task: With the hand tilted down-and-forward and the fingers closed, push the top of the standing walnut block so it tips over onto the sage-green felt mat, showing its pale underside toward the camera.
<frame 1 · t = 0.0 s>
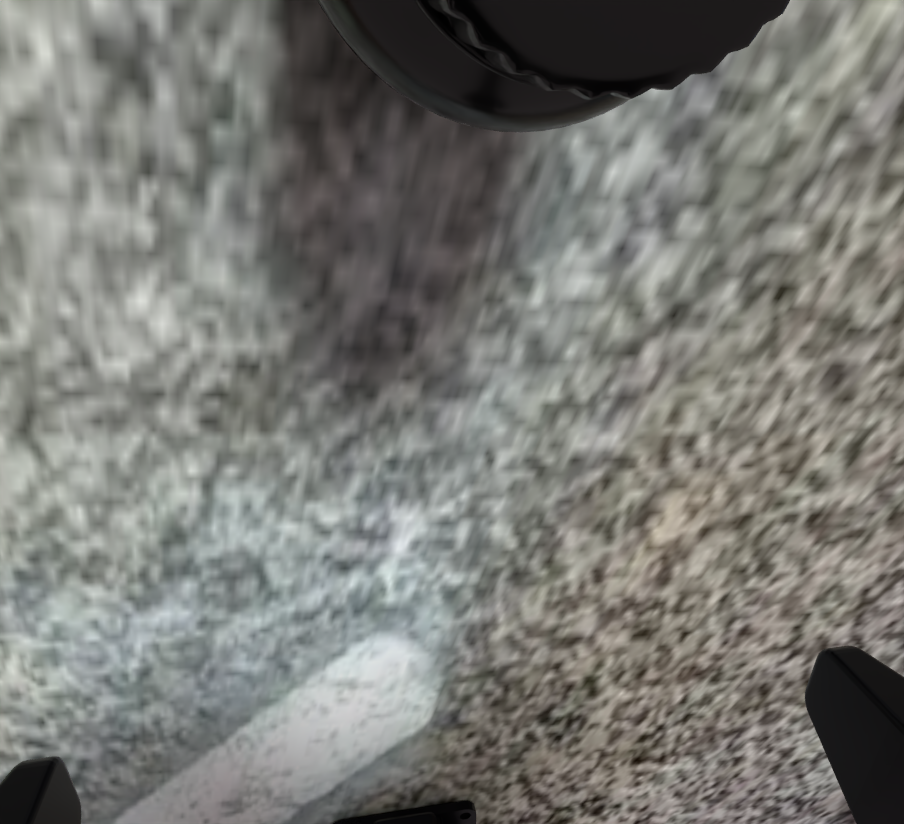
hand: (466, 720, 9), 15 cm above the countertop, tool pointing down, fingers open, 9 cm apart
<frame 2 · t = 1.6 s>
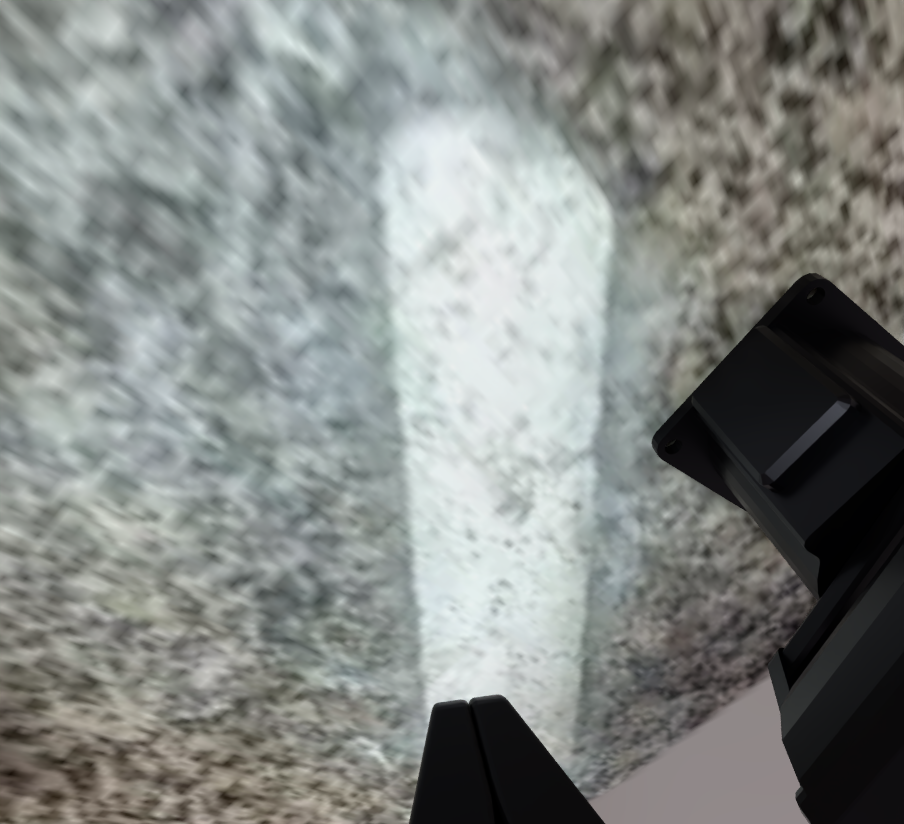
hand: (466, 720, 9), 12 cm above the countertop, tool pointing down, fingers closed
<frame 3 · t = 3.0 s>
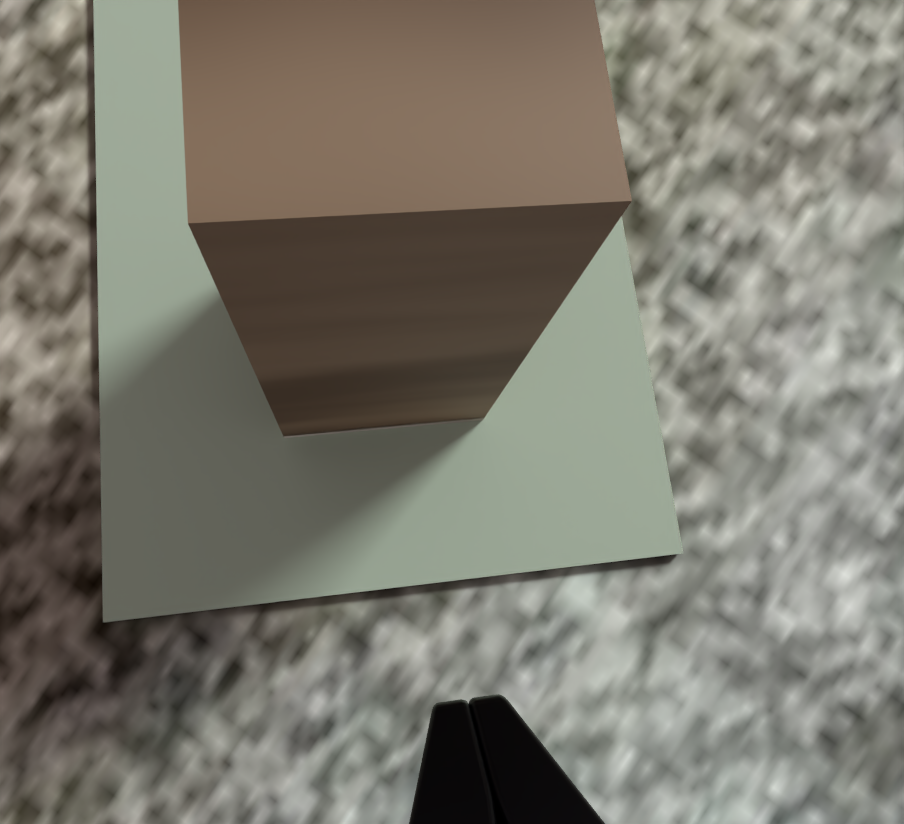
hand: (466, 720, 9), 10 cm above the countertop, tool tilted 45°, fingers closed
mat: (369, 213, 21), on the countertop
block: (375, 335, 20), resting on mat
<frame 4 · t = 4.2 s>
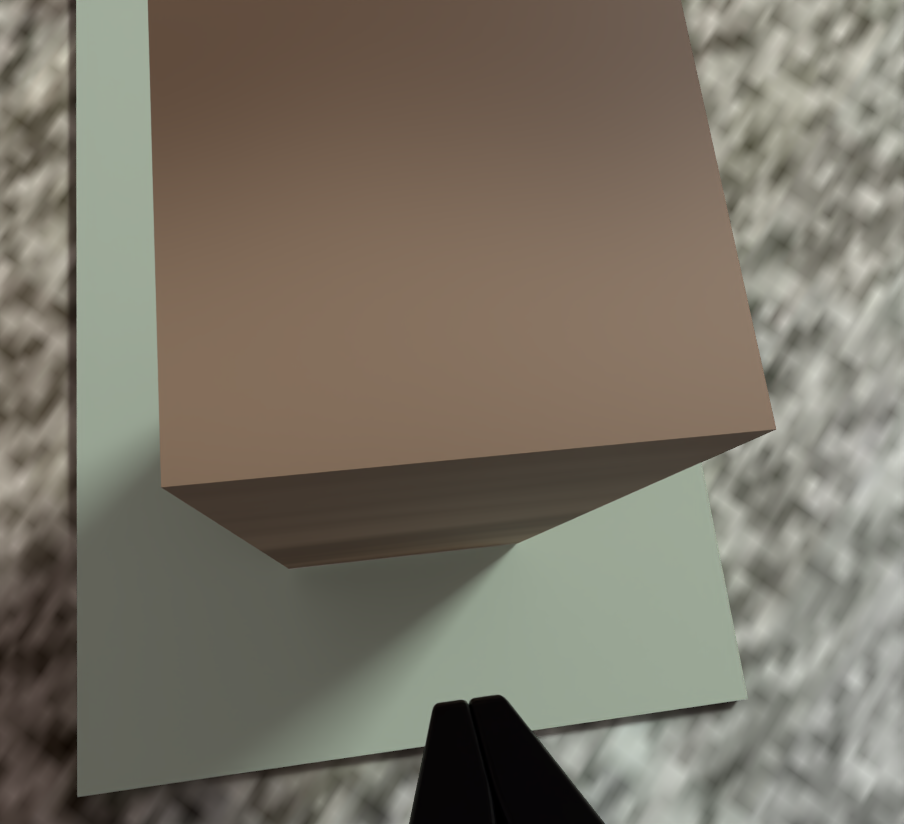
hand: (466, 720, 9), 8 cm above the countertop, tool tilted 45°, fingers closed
mat: (386, 301, 19), on the countertop
block: (394, 445, 18), resting on mat
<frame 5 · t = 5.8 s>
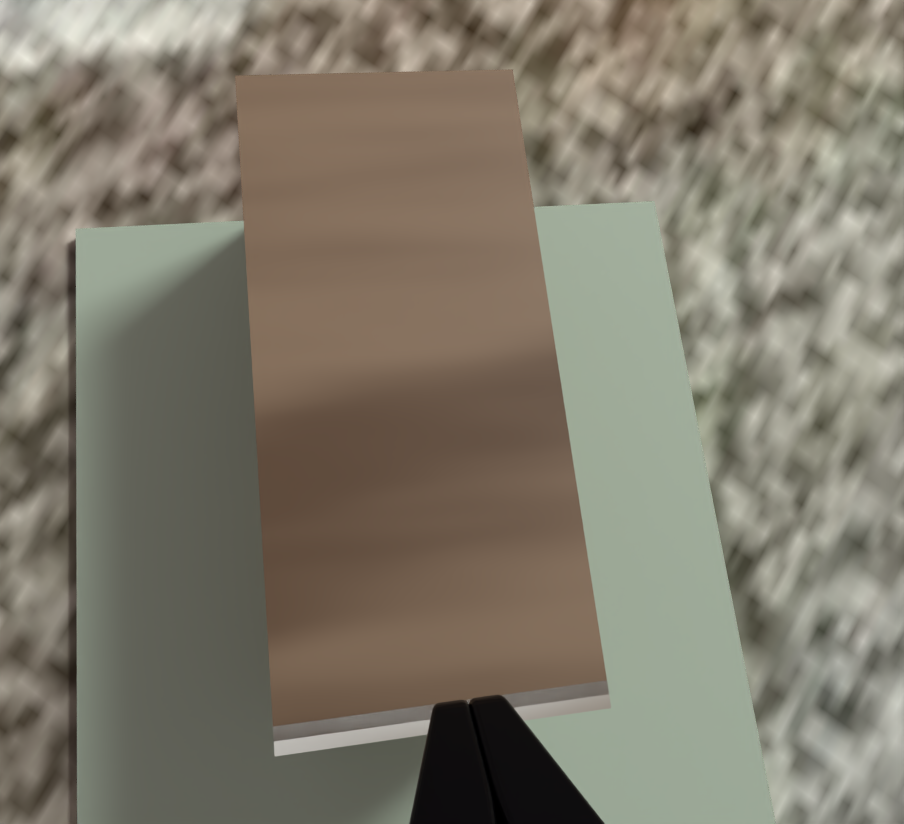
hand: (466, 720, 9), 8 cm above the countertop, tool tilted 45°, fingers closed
mat: (423, 640, 17), on the countertop
block: (432, 710, 14), point 3 cm above the countertop, tilted 90°, touching mat
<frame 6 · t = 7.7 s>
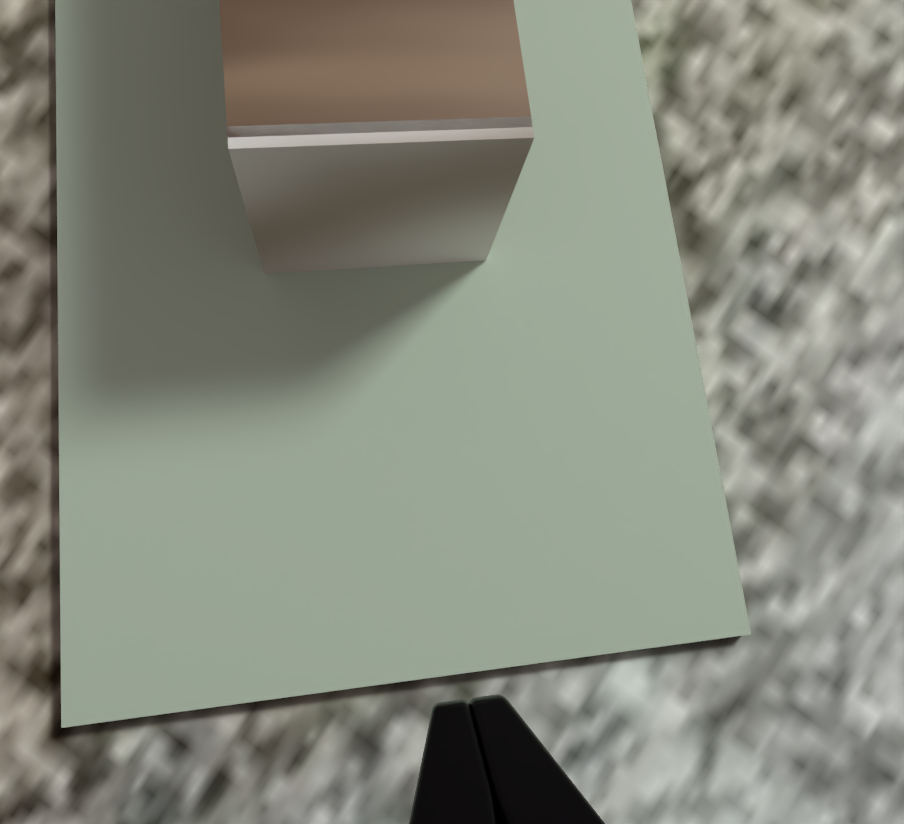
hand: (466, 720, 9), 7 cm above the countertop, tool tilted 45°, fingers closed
mat: (380, 228, 18), on the countertop
block: (380, 215, 15), point 3 cm above the countertop, tilted 90°, touching mat
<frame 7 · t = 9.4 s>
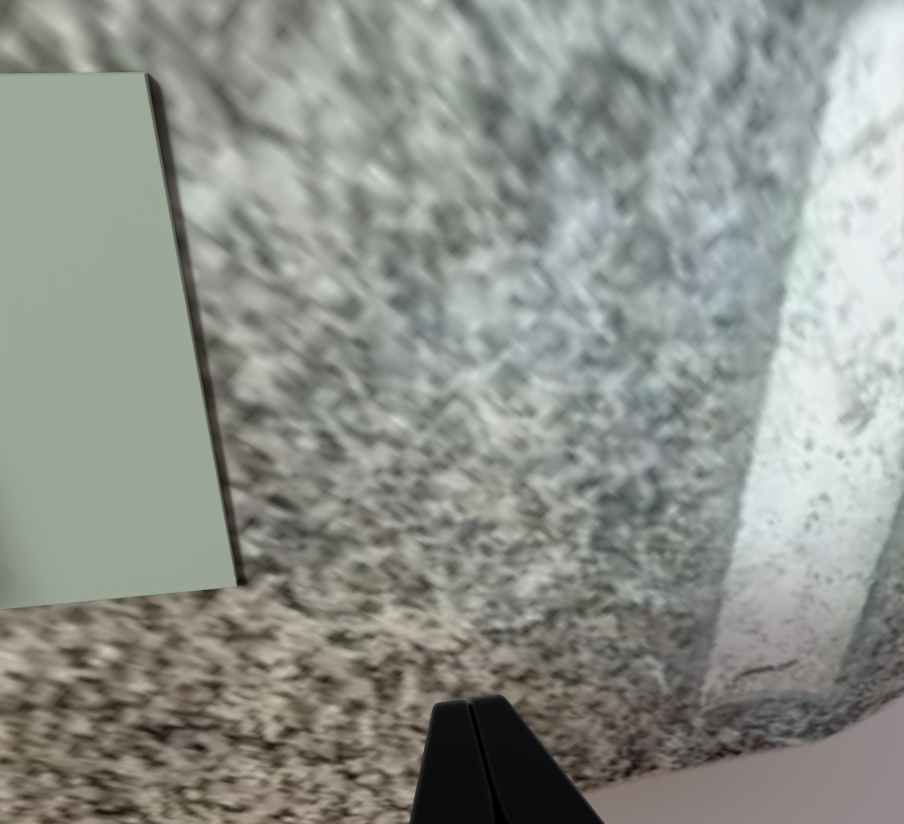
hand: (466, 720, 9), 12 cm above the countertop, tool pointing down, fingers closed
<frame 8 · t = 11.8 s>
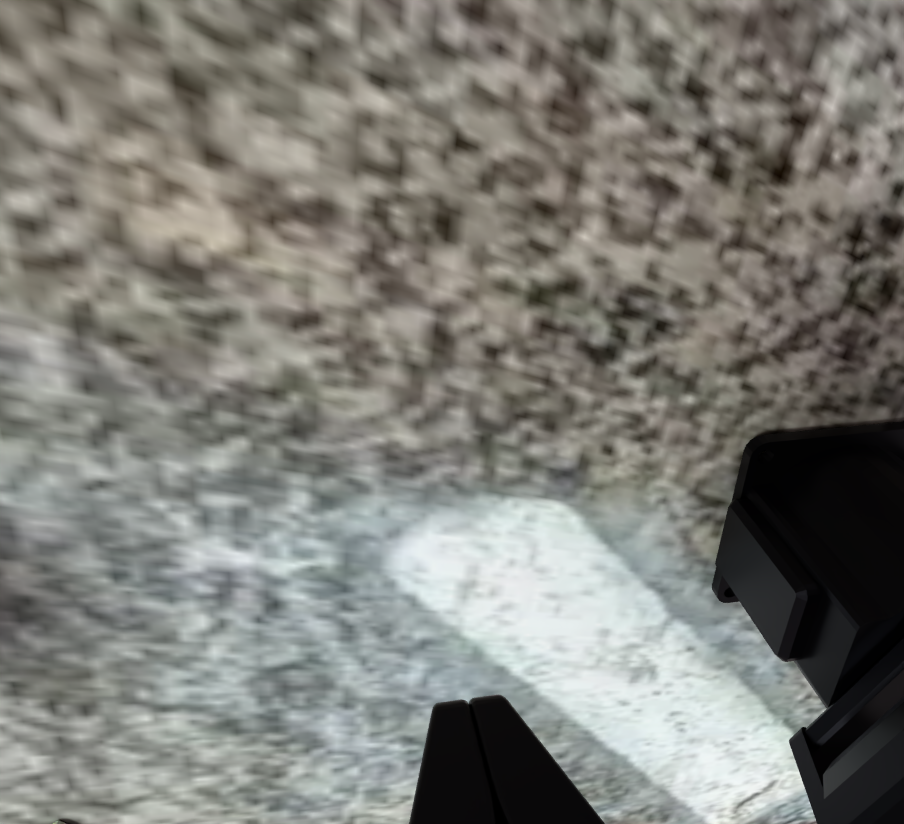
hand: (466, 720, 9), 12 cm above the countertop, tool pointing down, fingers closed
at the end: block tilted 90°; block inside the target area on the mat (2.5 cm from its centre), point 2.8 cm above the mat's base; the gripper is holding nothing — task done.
